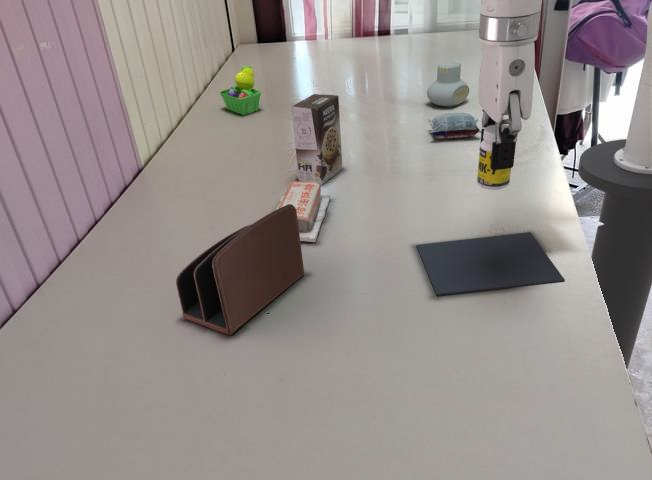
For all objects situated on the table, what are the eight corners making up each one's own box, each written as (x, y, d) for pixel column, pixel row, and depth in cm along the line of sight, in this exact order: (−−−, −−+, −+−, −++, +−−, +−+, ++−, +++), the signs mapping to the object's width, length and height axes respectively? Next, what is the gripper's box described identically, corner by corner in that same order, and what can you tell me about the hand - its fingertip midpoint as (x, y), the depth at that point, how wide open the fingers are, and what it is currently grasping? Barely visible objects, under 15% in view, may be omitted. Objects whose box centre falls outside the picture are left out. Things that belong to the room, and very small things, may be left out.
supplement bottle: (470, 184, 97) (474, 129, 92) (490, 175, 99) (495, 120, 94) (495, 193, 94) (501, 137, 89) (516, 183, 96) (522, 127, 91)
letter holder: (305, 274, 108) (297, 197, 99) (230, 337, 96) (214, 255, 87) (259, 261, 113) (248, 187, 104) (183, 319, 101) (162, 240, 92)
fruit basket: (221, 109, 184) (214, 68, 177) (246, 101, 188) (240, 61, 181) (242, 117, 177) (235, 75, 170) (268, 109, 180) (262, 67, 174)
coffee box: (322, 185, 136) (316, 108, 126) (297, 181, 139) (289, 105, 129) (344, 169, 142) (339, 94, 132) (319, 165, 145) (313, 92, 135)
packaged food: (427, 129, 156) (428, 109, 152) (477, 127, 154) (479, 106, 151) (429, 143, 149) (430, 122, 146) (481, 140, 147) (483, 119, 144)
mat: (529, 234, 111) (530, 232, 111) (564, 282, 99) (565, 279, 98) (416, 246, 112) (416, 244, 111) (436, 296, 99) (436, 294, 99)
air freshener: (446, 112, 164) (448, 71, 158) (422, 106, 170) (422, 67, 164) (472, 100, 170) (475, 60, 163) (448, 95, 175) (450, 56, 169)
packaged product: (280, 178, 129) (329, 178, 127) (283, 200, 132) (330, 200, 130) (260, 219, 115) (314, 219, 113) (263, 243, 118) (316, 243, 116)
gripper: (561, 38, 76) (541, 181, 88) (516, 11, 90) (503, 138, 101) (499, 45, 77) (486, 187, 88) (463, 17, 90) (456, 143, 101)
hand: (495, 159), depth 94 cm, fingers closed on supplement bottle, 4 cm apart
